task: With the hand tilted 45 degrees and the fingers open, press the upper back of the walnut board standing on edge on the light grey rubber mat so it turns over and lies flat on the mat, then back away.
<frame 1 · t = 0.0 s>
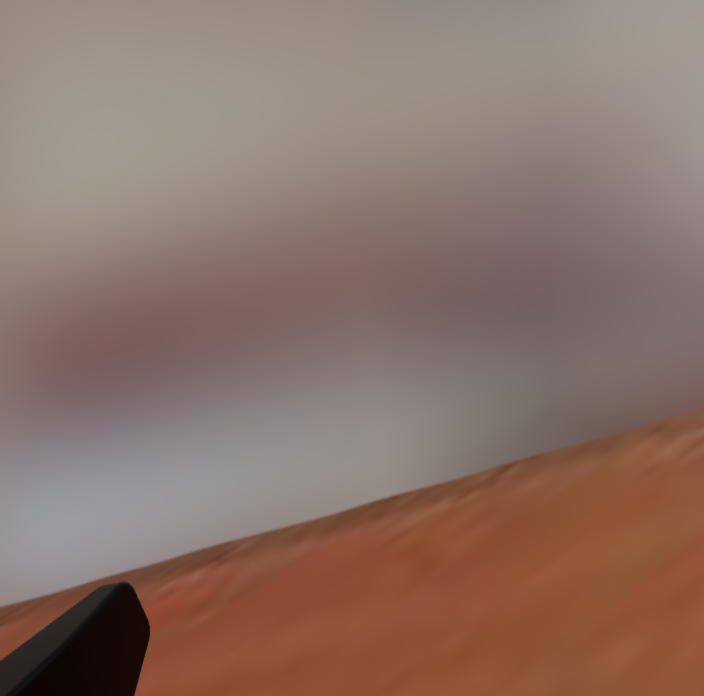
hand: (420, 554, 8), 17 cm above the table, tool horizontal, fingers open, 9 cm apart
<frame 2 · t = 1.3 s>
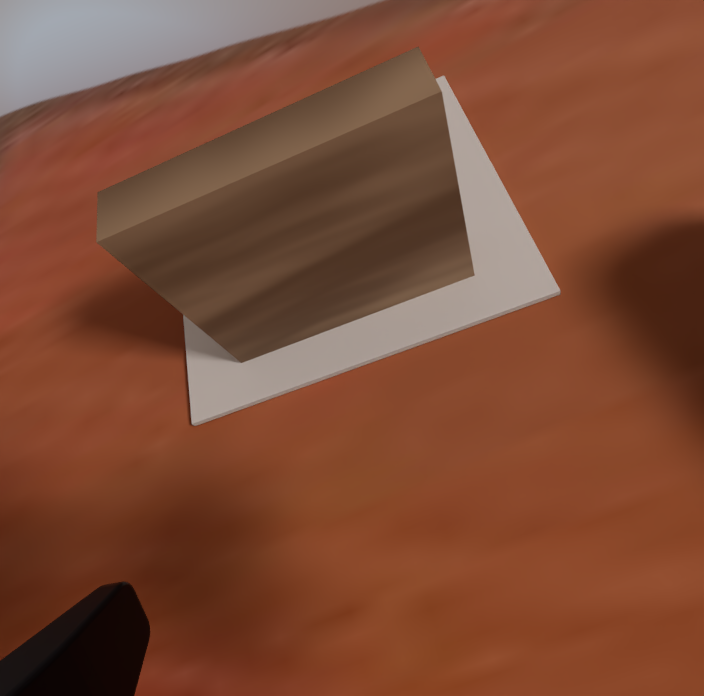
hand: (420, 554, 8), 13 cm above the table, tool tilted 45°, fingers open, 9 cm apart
board: (348, 300, 25), resting on mat
mat: (331, 237, 28), on the table
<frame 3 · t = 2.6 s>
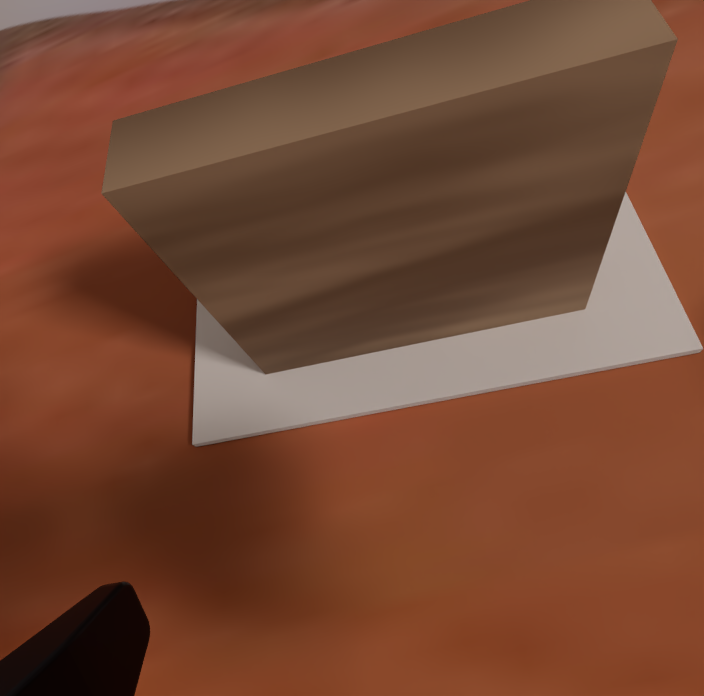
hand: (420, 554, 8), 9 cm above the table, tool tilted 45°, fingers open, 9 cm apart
board: (413, 316, 20), resting on mat
mat: (396, 230, 22), on the table
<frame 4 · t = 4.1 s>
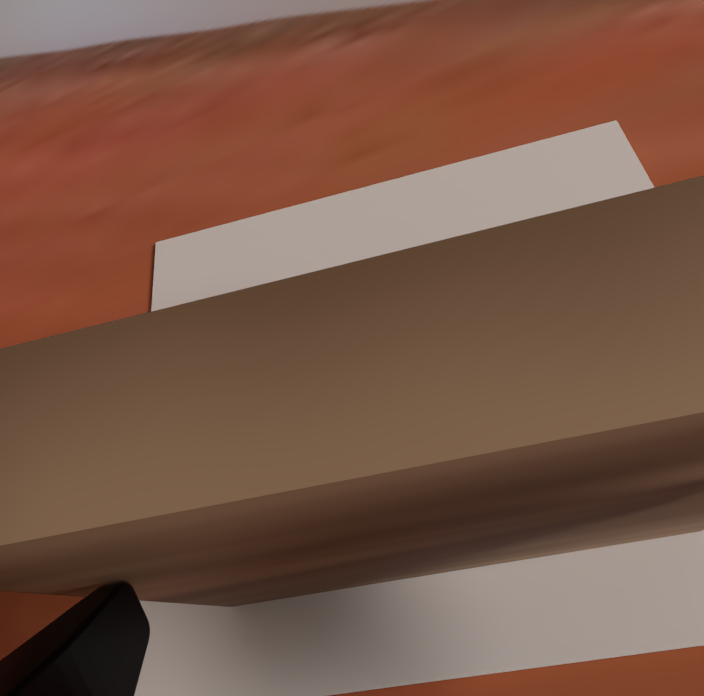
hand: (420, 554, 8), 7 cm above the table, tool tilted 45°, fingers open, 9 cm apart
board: (441, 522, 14), resting on mat, touching gripper
mat: (412, 375, 16), on the table
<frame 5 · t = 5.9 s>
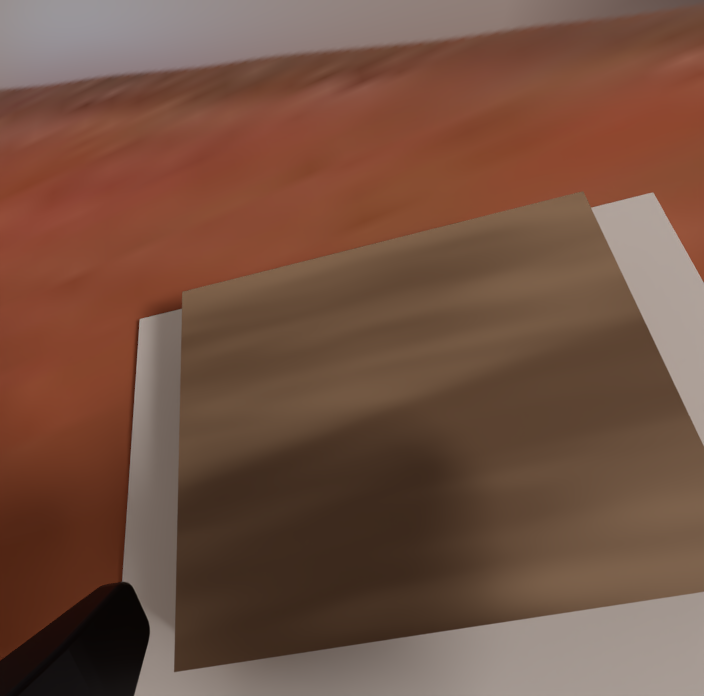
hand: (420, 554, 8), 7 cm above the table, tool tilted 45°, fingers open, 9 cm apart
board: (452, 628, 12), point 1 cm above the table, tilted 90°, touching mat
mat: (428, 496, 14), on the table
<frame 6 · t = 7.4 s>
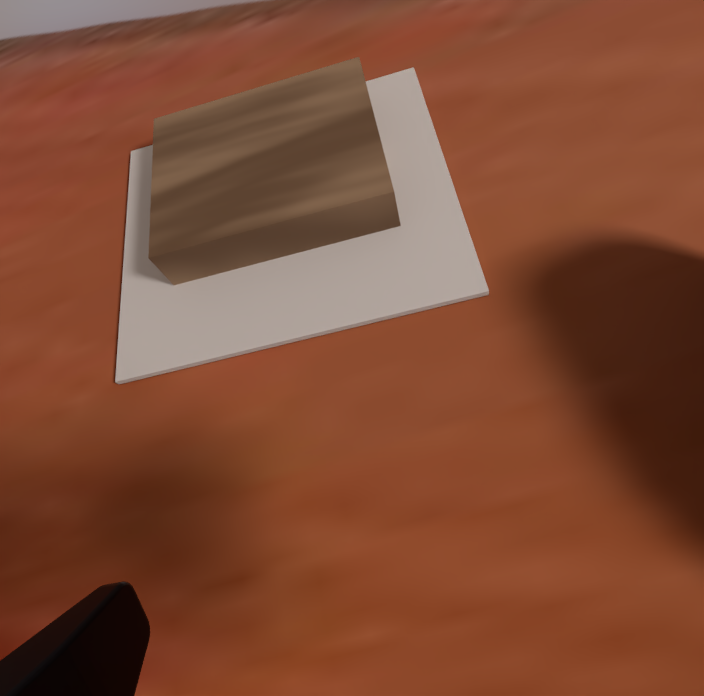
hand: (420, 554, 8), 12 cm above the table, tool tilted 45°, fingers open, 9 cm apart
board: (276, 241, 25), point 1 cm above the table, tilted 90°, touching mat
mat: (280, 212, 28), on the table
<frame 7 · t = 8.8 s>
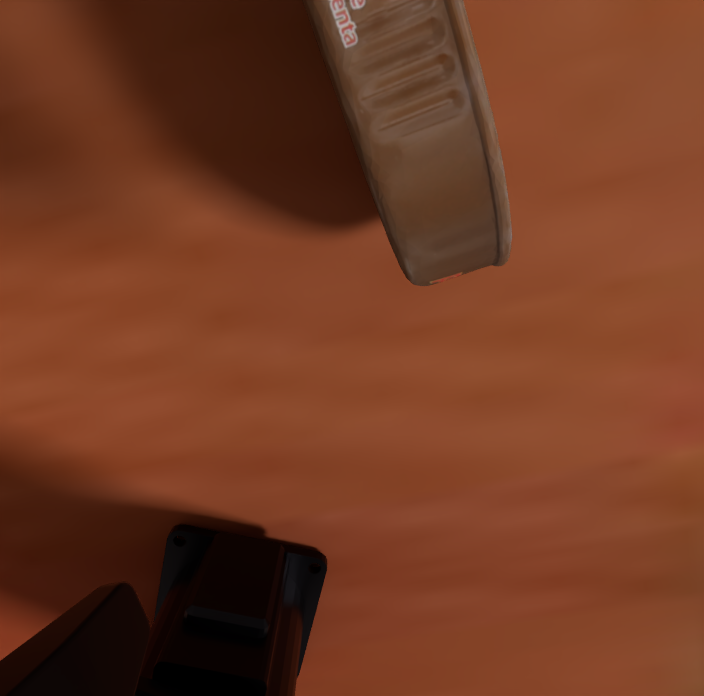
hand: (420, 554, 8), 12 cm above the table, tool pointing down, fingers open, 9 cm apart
tin: (360, 35, 16), on the table
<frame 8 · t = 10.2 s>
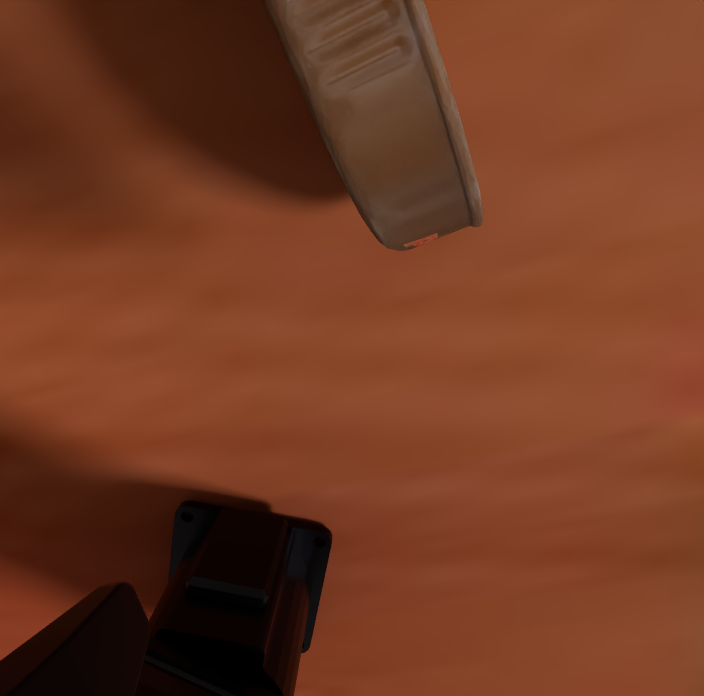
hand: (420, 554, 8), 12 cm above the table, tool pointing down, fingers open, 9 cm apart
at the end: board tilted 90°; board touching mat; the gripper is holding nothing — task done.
